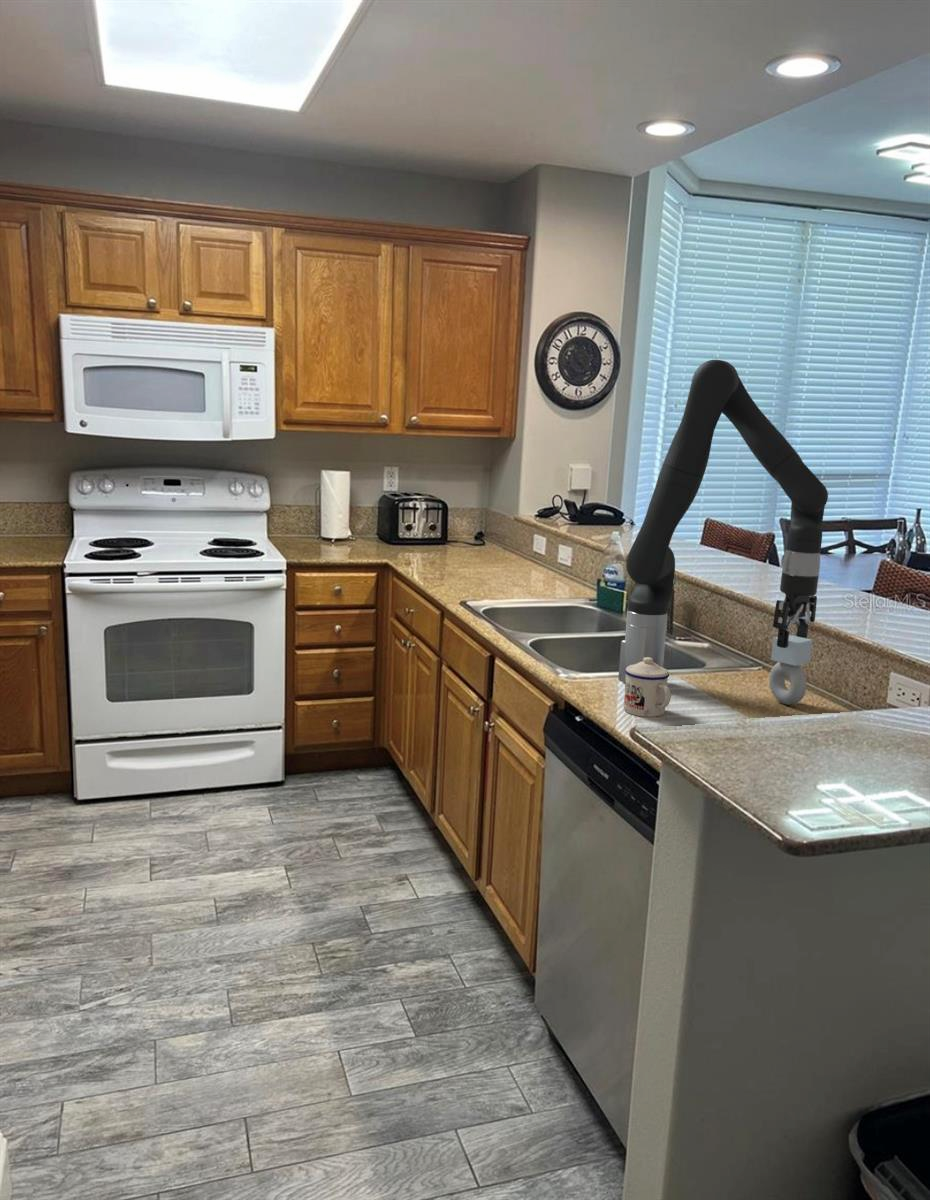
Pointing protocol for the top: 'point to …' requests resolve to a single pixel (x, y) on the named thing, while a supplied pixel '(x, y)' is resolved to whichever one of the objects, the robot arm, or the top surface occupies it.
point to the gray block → (792, 651)
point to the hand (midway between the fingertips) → (791, 644)
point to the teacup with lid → (646, 689)
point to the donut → (796, 683)
